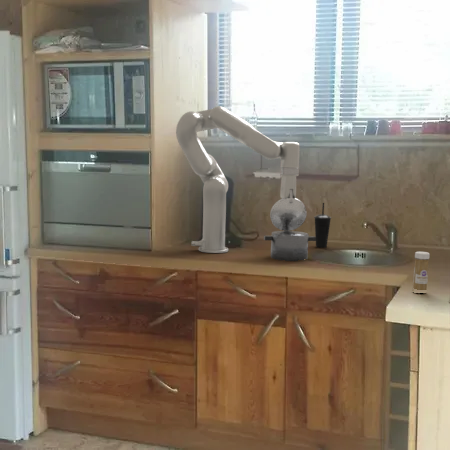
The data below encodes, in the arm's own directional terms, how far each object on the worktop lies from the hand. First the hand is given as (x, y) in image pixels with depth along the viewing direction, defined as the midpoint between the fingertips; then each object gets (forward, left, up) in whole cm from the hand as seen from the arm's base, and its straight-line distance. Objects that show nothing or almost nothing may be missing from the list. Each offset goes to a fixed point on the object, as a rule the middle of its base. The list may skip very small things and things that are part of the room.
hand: (288, 215), depth 293 cm
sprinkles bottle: (+32, -69, -17) cm, 78 cm away
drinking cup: (+20, +21, -17) cm, 33 cm away
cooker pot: (0, -8, -16) cm, 18 cm away
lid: (0, -3, +1) cm, 3 cm away
